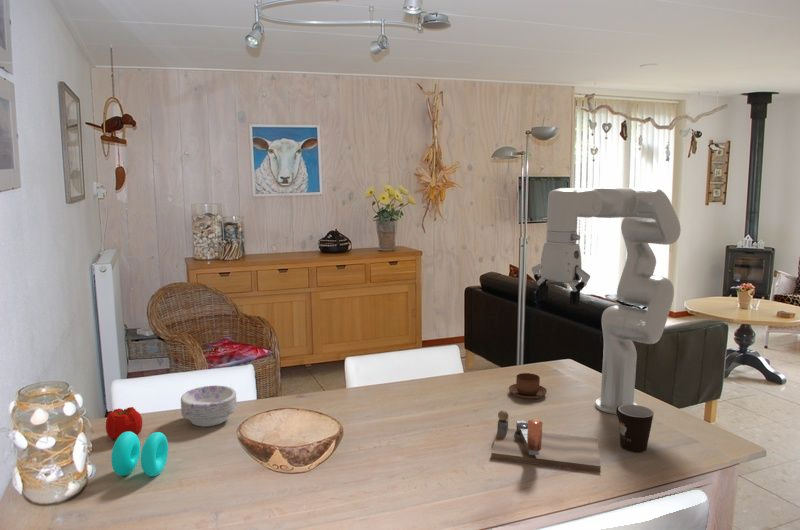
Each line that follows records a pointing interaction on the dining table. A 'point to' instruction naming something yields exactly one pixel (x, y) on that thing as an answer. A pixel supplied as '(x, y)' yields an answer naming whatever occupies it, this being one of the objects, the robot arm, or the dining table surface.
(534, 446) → the lever
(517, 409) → the dining table surface
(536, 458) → the wooden lever base
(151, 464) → the donuts
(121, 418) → the tomato
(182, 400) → the paper bowls
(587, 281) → the robot arm
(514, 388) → the cup and saucer
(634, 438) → the coffee mug
